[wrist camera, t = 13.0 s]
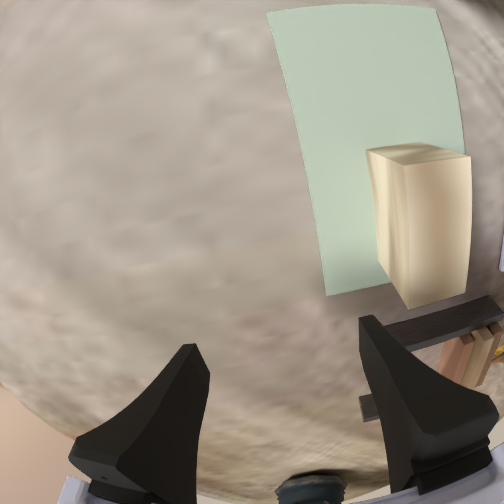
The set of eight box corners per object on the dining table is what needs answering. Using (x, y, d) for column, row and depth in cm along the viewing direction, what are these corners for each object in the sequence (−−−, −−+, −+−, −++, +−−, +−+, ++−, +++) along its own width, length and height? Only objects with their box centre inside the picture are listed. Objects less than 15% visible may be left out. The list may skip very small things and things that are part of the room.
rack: (488, 295, 21) (504, 312, 19) (467, 367, 26) (477, 385, 23) (359, 331, 24) (367, 356, 21) (358, 400, 28) (363, 422, 25)
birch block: (418, 141, 16) (470, 156, 11) (425, 249, 20) (464, 292, 14) (364, 149, 17) (404, 165, 12) (378, 260, 20) (408, 310, 15)
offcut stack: (483, 304, 22) (506, 331, 18) (467, 361, 25) (482, 388, 21) (449, 315, 23) (470, 347, 19) (436, 372, 26) (450, 402, 22)
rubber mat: (432, 10, 12) (434, 8, 12) (460, 262, 20) (462, 264, 20) (266, 14, 14) (265, 12, 13) (325, 293, 22) (326, 296, 22)
